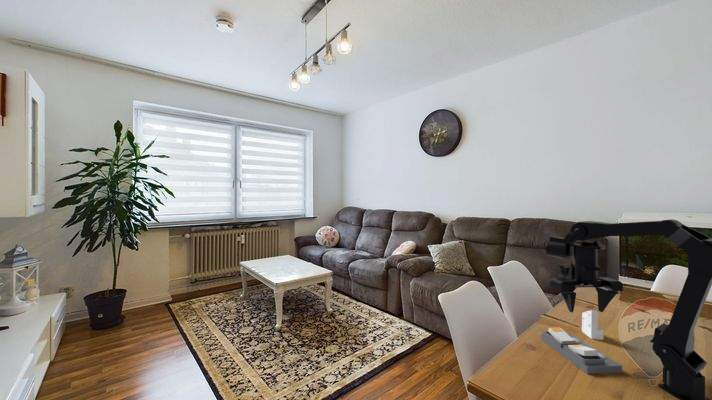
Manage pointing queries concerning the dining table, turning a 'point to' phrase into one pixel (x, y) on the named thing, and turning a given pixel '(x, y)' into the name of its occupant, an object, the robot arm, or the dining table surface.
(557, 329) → the far rocker
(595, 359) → the grey stepped stand
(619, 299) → the dining table surface
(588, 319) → the white wedge bracket
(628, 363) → the dining table surface
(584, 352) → the near rocker
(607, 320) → the dining table surface
